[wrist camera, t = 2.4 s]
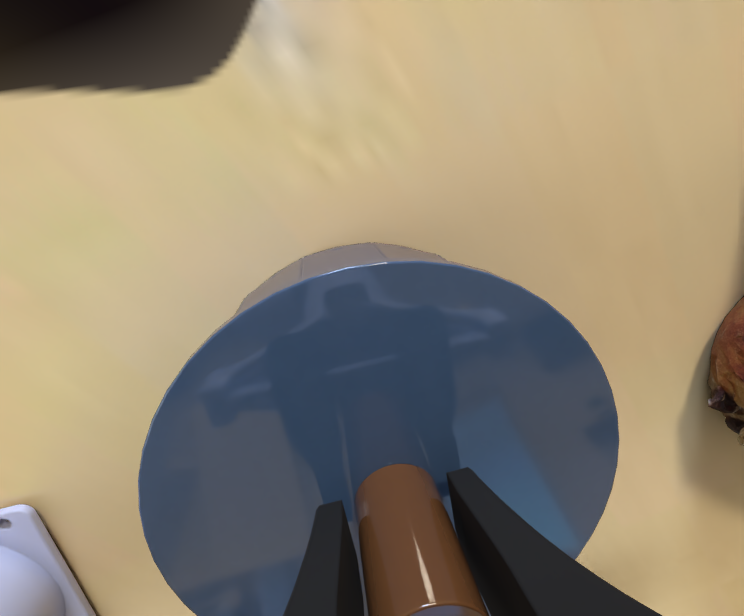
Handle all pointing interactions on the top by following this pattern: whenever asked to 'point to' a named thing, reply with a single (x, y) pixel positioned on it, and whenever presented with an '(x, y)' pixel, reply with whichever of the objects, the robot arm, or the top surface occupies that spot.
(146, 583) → the top surface
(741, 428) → the bread roll
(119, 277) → the top surface
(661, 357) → the top surface
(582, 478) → the bowl lid
